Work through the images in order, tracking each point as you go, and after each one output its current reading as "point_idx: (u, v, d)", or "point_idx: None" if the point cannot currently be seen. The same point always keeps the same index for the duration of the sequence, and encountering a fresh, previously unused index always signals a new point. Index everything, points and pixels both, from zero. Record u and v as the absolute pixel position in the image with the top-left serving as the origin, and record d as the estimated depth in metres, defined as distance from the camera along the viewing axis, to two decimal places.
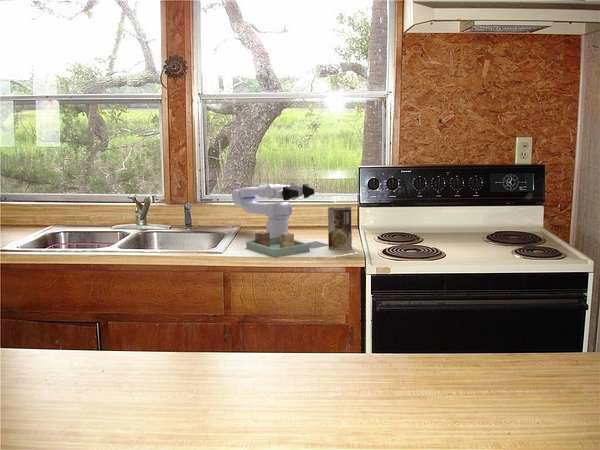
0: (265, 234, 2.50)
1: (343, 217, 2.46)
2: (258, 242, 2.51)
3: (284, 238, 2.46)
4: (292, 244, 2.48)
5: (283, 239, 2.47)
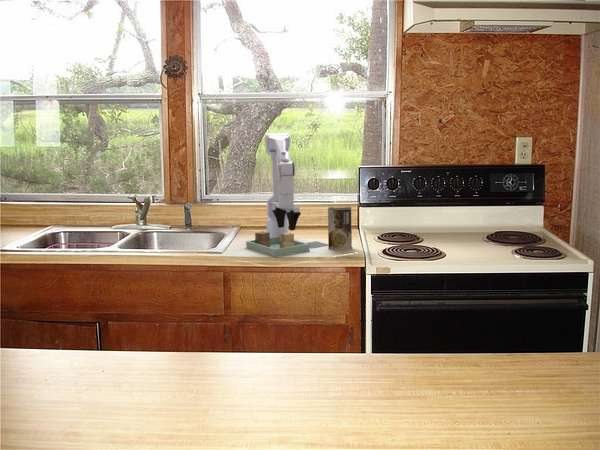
0: (265, 234, 2.50)
1: (343, 217, 2.46)
2: (258, 242, 2.51)
3: (284, 238, 2.46)
4: (292, 244, 2.48)
5: (283, 239, 2.47)
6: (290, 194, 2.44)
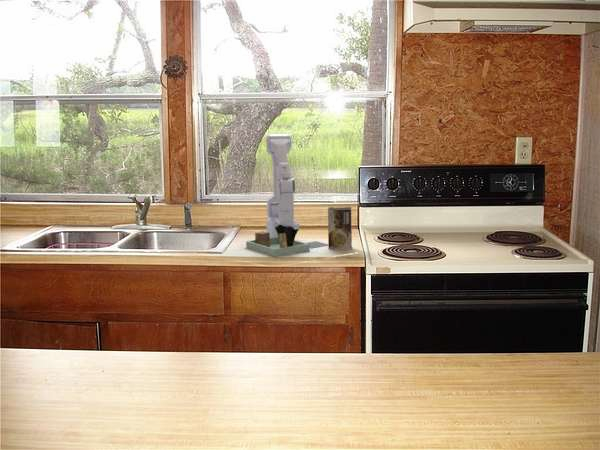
0: (265, 234, 2.50)
1: (343, 217, 2.46)
2: (258, 242, 2.51)
3: (284, 238, 2.46)
4: None
5: (283, 239, 2.47)
6: (290, 211, 2.45)
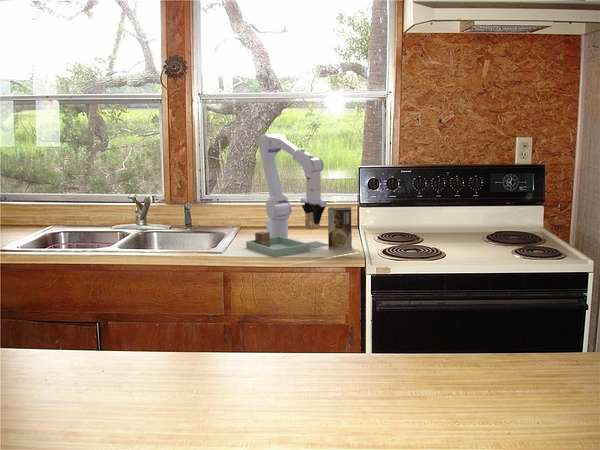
0: (265, 234, 2.50)
1: (343, 217, 2.46)
2: (258, 242, 2.51)
3: (310, 217, 2.52)
4: None
5: (309, 218, 2.53)
6: (317, 189, 2.51)
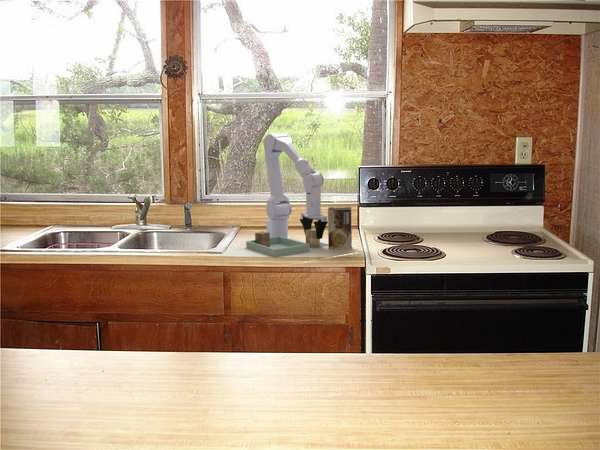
0: (265, 234, 2.50)
1: (343, 217, 2.46)
2: (258, 242, 2.51)
3: (310, 234, 2.53)
4: (318, 240, 2.55)
5: (309, 235, 2.54)
6: (318, 204, 2.52)
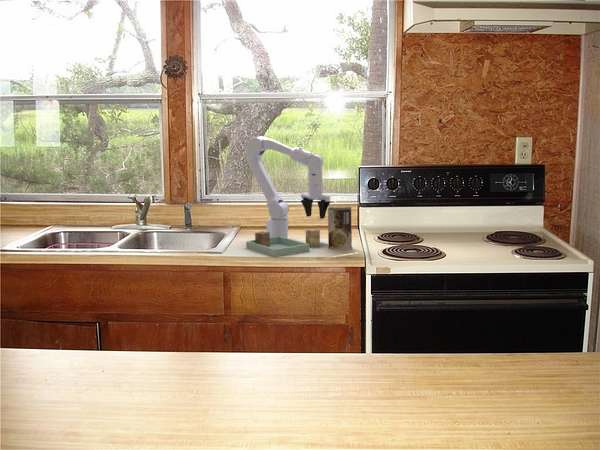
0: (265, 234, 2.50)
1: (343, 217, 2.46)
2: (258, 242, 2.51)
3: (310, 234, 2.53)
4: (318, 240, 2.55)
5: (309, 235, 2.54)
6: (320, 185, 2.62)
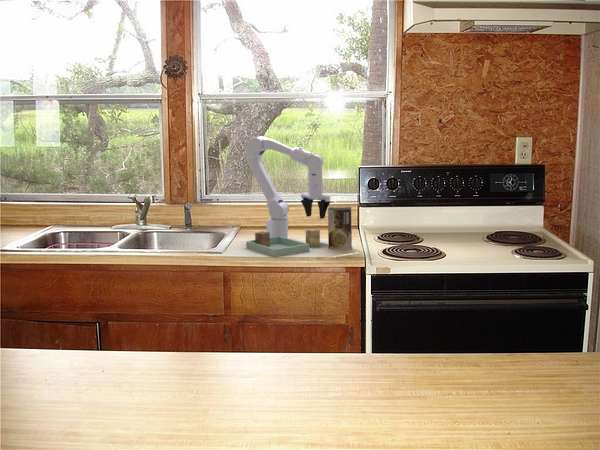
0: (265, 234, 2.50)
1: (343, 217, 2.46)
2: (258, 242, 2.51)
3: (310, 234, 2.53)
4: (318, 240, 2.55)
5: (309, 235, 2.54)
6: (320, 185, 2.62)
